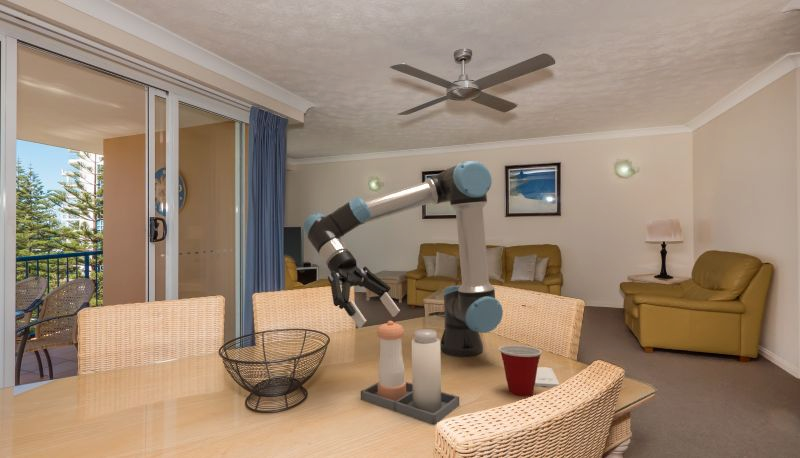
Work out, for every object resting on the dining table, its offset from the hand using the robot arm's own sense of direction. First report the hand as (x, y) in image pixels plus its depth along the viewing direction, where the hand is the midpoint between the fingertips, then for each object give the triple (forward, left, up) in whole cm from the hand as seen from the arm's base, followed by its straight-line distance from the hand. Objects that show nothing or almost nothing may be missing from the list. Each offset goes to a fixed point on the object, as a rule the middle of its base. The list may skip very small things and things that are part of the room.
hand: (380, 319), depth 98 cm
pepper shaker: (-1, +3, -20) cm, 20 cm away
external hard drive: (-36, +29, -21) cm, 51 cm away
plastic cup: (-23, +28, -21) cm, 42 cm away
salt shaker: (-1, +13, -19) cm, 24 cm away
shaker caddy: (-1, +8, -20) cm, 22 cm away
